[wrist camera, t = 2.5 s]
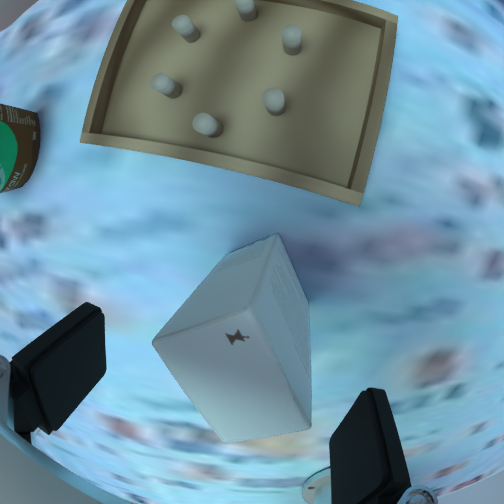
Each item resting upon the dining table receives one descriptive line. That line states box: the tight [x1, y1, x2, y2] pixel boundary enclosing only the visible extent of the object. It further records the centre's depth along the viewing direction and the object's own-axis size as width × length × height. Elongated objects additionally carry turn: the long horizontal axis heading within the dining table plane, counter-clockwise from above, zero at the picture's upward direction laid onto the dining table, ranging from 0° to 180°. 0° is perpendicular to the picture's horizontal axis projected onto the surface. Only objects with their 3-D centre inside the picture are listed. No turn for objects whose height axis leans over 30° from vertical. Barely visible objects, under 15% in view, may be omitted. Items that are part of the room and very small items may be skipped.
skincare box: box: [152, 233, 312, 443], centre depth 15 cm, size 6×4×12 cm
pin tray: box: [80, 0, 398, 207], centre depth 16 cm, size 20×14×4 cm
